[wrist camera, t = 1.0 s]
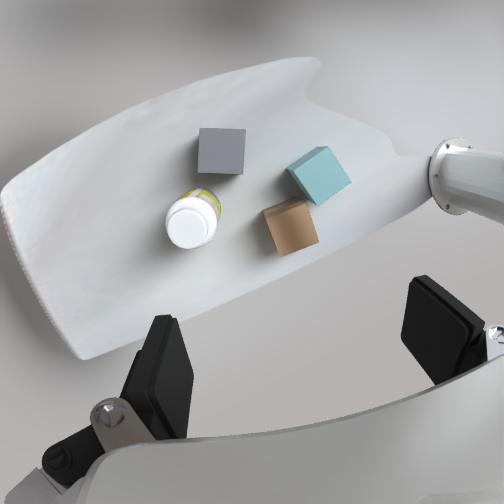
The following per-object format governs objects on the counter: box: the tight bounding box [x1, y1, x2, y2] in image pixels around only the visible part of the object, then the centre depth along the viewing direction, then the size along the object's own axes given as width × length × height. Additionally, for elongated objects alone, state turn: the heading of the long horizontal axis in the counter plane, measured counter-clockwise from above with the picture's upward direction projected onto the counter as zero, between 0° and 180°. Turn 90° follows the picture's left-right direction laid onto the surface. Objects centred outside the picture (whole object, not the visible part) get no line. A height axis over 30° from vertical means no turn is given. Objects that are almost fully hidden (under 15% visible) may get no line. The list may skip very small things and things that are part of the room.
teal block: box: [286, 146, 351, 206], centre depth 33 cm, size 5×5×5 cm
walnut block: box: [262, 197, 319, 257], centre depth 35 cm, size 5×5×5 cm
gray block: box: [198, 128, 246, 174], centre depth 32 cm, size 5×5×5 cm
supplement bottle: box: [165, 189, 221, 249], centre depth 32 cm, size 6×6×10 cm
